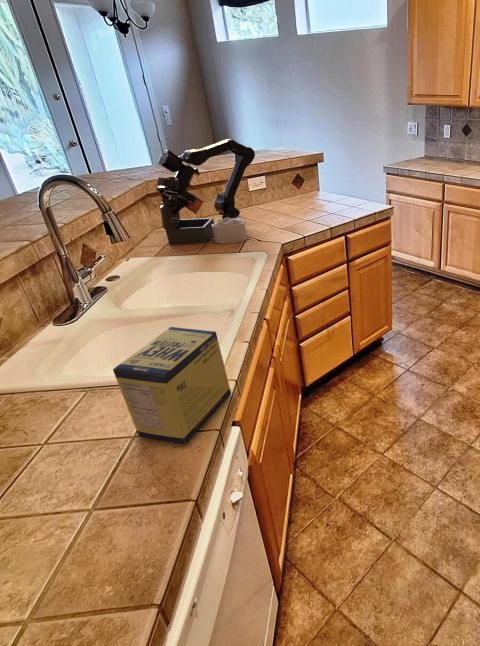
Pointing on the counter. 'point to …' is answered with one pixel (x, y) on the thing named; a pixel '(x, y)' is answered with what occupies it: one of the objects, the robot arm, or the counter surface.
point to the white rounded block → (229, 230)
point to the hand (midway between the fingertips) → (167, 213)
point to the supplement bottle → (169, 215)
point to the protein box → (174, 384)
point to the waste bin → (191, 231)
